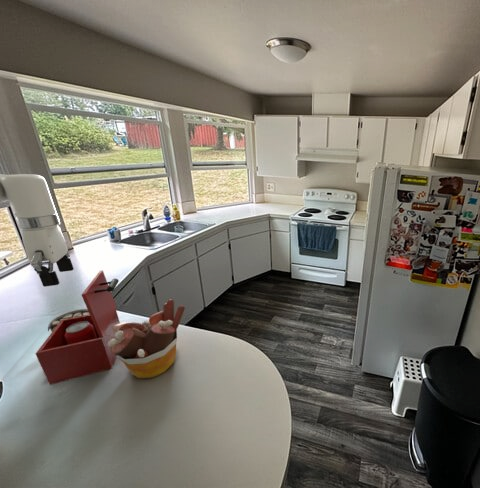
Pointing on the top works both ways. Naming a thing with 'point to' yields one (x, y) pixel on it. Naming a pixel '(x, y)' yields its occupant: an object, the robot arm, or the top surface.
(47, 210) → the robot arm
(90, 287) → the lid
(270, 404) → the top surface
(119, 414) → the top surface
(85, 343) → the red hinged box
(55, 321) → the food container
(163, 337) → the bucket of meat
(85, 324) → the beverage can
